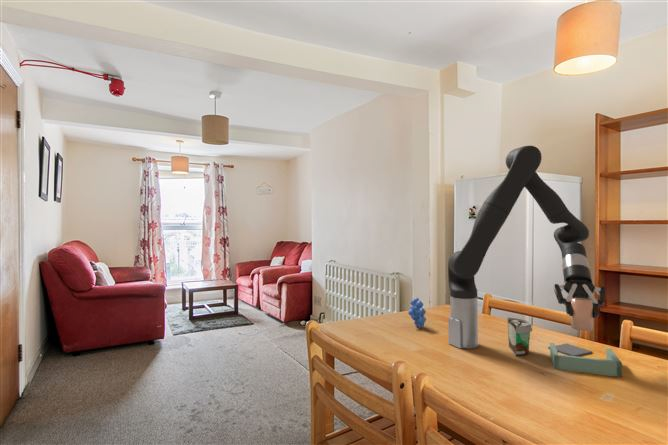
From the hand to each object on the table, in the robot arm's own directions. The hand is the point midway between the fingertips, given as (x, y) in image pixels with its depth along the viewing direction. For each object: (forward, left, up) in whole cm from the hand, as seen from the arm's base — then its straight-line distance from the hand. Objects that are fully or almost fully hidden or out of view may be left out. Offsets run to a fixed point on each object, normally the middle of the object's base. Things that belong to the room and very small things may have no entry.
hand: (583, 315), depth 114 cm
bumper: (+1, +1, -15) cm, 15 cm away
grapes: (-20, +58, -16) cm, 63 cm away
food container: (-6, +17, -16) cm, 24 cm away
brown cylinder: (+1, +1, -4) cm, 5 cm away
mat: (+9, +11, -15) cm, 21 cm away
